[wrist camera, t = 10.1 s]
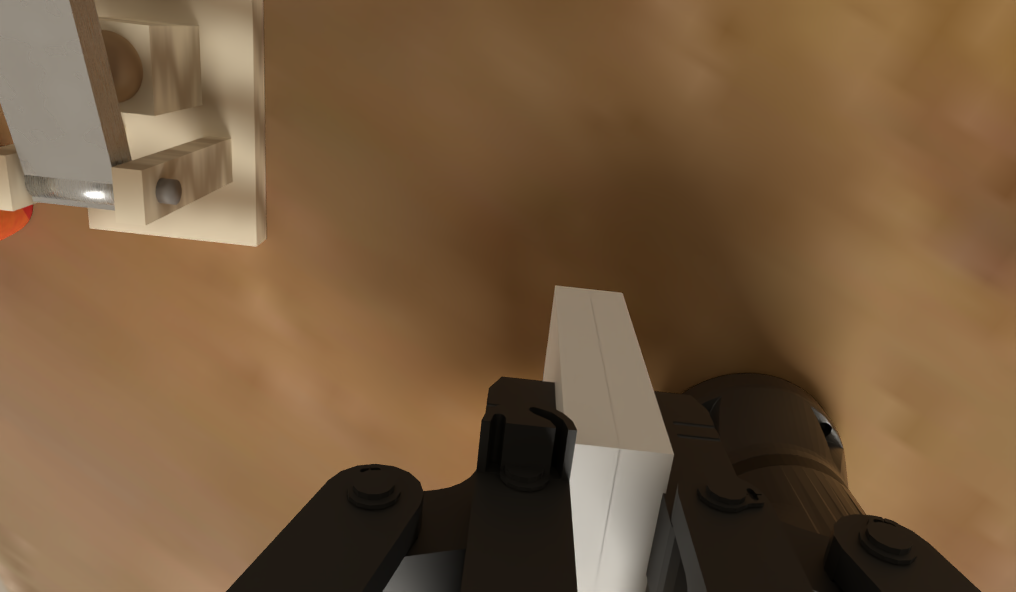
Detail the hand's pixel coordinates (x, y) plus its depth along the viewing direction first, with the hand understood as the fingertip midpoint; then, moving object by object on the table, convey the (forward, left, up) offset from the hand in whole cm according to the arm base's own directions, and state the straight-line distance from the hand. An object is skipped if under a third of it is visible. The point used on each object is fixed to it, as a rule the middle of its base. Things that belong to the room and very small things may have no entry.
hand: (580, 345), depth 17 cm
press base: (+6, +26, -36) cm, 45 cm away
